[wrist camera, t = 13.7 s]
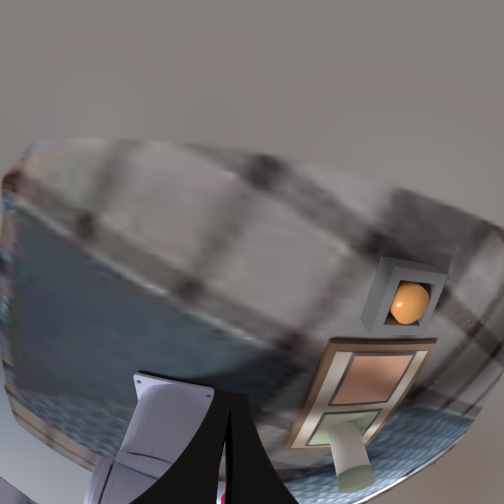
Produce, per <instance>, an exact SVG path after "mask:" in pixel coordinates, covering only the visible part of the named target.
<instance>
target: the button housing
mask: <svg viewBox="0 0 504 504" xmlns="http://www.w3.org/2000/svg"><path fill="white" fill-rule="evenodd" d="M446 278H447V274H446V273H445V272H443V271H442V270H440V269H439V268H438V267H436V266H435V265H433V264H427V263H422V262H416V261H410V260H404V259H398V258H392V257H386V256H381V259H380V262H379V266H378V269H377V272H376V276H375V279H374V282H373V285H372V288H371V291H370V294H369V297H368V300H367V303H366V306H365V308H364V311H363V314H362V317H361V320H362V322H363V324H364V326H365V327H366V329H367V331H368V332H369V334H383V335H423V333H424V331H425V329H426V327H427V325H428V323H429V320H430V318H431V316H432V314H433V311H434V309H435V307H436V304H437V302H438V299H439V297H440V294H441V292H442V289H443V286H444V284H445V281H446ZM400 280H405V281H413V282H420V283H419V285H421V286H422V287H423V288H424V289H425V290H426V291H427V293H428V295H429V303H428V306H427V309H426V311H425V312H424V314H423V315H422V316H421V317H420V318H419V319H418V320H416V321H415V322H412V323H410V324H402V323H400V322H398V321H397V319H396V318H395V317H394V316H393V314H392V313H391V312H389V309H390V307H391V304H392V301H393V299H394V296H395V293H396V290H397V288H398V285H399V282H400Z"/></svg>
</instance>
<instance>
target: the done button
mask: <svg viewBox="0 0 504 504" xmlns="http://www.w3.org/2000/svg"><path fill="white" fill-rule="evenodd" d="M428 303H429V295H428V293H427V291H426V290H425V289H424V288H423V287H422V286H421V285H419V284H418V283H417V282H413V281H405V280H400V282H399V285H398V288H397V290H396V293H395V296H394V299H393V301H392V304H391V307H390V309H389V310H390V312H391V313H392V314H393V316H394V317H395V318H396V319H397V321H398V322H400V323H402V324H410V323H412V322H415V321H416V320H418V319H419V318H420V317H421V316H422V315H423V314H424V312H425V311H426V309H427V306H428Z"/></svg>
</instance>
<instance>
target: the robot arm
mask: <svg viewBox="0 0 504 504" xmlns="http://www.w3.org/2000/svg"><path fill="white" fill-rule="evenodd" d="M139 380H140V381H139ZM134 381H135V386H136V391H137V396H138V401H139V402H138V404H137V407H136V409H135V412H134V414H133V417H132V419H131V422H130V425H129V427H128V430H127V432H126V435H125V438H124V440H123V443H122V446H121V448H120V450H119V451H118V454H117V456H116V459H115V461H113V458H114V457H111V456H109V455H107V456H106V457H102V458H100V459H99V461H98V463H97V465H96V467H95V470H94V472H93V475H92V477H91V480H90V483H89V486H88V489H87V492H86V495H85V499H84V504H217V503H216V500H217V488H218V477H219V467H220V462H221V457H222V452H223V448H224V443H225V452H226V490H225V501H224V504H299V503H298V502H297V501H296V499H295V498H294V497H293V496H292V494H291V493H290V492H289V490H288V489H287V488H286V486H285V485H284V483H283V482H282V480H281V479H280V477H279V476H278V474H277V472H276V471H275V469H274V467H273V466H272V464H271V462H270V460H269V458H268V456H267V454H266V452H265V449H264V447H263V445H262V443H261V440H260V438H259V435H258V432H257V429H256V427H255V424H254V420H253V417H252V413H251V409H250V404H249V396H248V395H247V394H240V393H232V392H224V391H215V392H214V389H213V388H212V387H207V386H201V385H195V384H189V383H184V382H178V381H173V380H168V379H164V378H159V377H155V376H150V375H146V374H142V373H135V374H134ZM208 394H209V395H208ZM0 504H38V503H36V502H35V501H33V500H31V499H30V498H28V496H26V495H25V494H23V493H22V492H21V491H19V490H18V489H17V488H15V487H13V486H12V485H11V484H9V483H8V482H7V481H6V480H4V479H3V478H2V477H0Z"/></svg>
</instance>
